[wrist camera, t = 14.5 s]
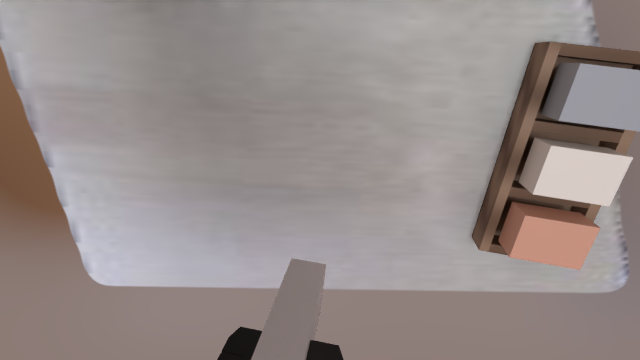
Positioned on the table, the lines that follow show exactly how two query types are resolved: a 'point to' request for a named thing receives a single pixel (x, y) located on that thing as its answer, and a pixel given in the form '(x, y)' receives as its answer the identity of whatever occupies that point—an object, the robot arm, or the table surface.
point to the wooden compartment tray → (544, 137)
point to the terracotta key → (547, 235)
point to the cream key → (574, 171)
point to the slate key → (595, 96)
